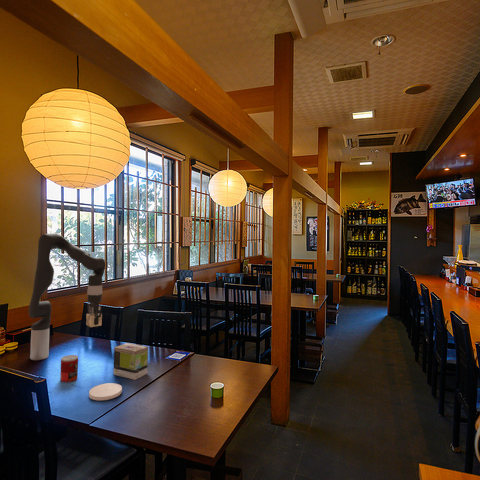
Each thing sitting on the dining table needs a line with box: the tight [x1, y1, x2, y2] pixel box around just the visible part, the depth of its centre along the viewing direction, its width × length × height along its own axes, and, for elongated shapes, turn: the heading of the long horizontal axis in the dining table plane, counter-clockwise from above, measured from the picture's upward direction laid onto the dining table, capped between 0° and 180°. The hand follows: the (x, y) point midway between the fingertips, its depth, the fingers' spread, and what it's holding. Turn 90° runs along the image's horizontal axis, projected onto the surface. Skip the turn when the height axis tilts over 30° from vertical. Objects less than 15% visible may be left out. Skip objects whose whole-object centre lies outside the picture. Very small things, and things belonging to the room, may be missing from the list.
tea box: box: [113, 342, 149, 381], centre depth 173 cm, size 15×10×15 cm
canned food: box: [59, 354, 79, 383], centre depth 164 cm, size 8×8×11 cm
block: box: [85, 313, 103, 328], centre depth 180 cm, size 6×6×6 cm
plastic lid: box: [88, 382, 123, 401], centre depth 149 cm, size 14×14×2 cm
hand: (93, 323), depth 180 cm, fingers closed on block, 6 cm apart
